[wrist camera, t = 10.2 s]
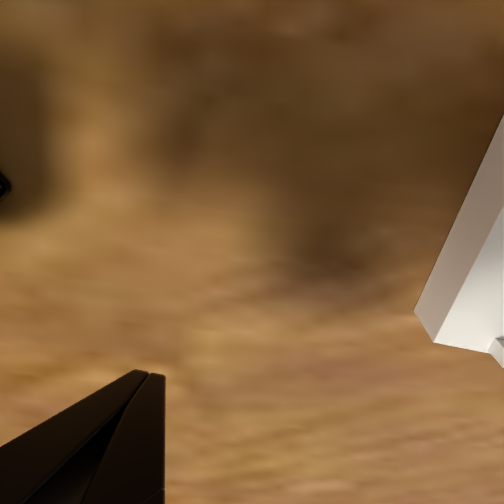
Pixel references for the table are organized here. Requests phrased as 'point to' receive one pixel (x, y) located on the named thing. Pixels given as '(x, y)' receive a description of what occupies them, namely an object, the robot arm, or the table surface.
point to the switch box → (472, 267)
